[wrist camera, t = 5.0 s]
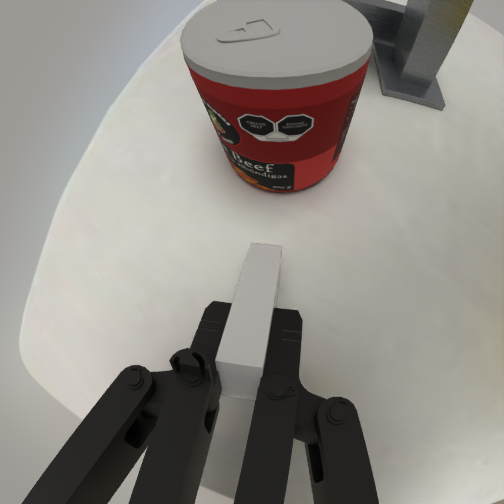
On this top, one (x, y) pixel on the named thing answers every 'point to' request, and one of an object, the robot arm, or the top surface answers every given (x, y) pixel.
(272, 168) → the canned food
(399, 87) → the bracket
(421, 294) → the top surface
